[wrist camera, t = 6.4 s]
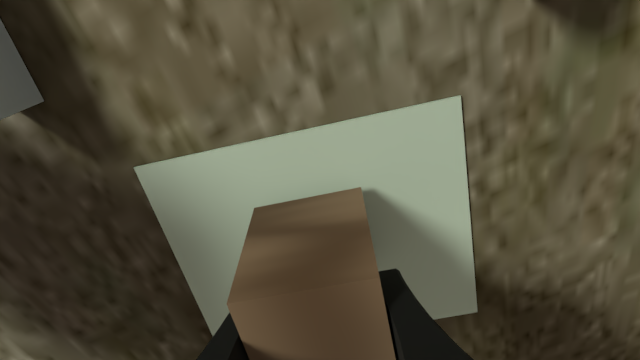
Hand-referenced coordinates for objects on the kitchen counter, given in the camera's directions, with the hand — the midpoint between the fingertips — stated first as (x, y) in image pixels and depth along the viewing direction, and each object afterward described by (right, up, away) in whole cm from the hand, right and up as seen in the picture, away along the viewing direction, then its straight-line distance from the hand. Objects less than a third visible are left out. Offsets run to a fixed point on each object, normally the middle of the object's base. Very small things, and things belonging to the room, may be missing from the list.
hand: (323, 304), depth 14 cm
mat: (0, +2, +3) cm, 3 cm away
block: (0, +2, +2) cm, 3 cm away
